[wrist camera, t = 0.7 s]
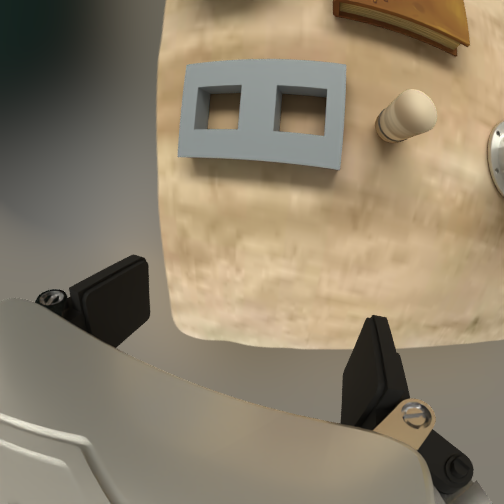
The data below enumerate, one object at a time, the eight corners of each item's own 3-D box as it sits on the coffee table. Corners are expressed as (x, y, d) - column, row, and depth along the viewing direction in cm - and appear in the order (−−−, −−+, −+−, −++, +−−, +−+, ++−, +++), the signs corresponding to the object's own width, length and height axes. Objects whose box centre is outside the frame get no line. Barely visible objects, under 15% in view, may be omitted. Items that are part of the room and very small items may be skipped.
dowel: (394, 109, 27) (424, 83, 16) (407, 139, 28) (444, 126, 17) (367, 118, 29) (387, 94, 18) (380, 148, 29) (408, 139, 18)
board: (344, 75, 28) (346, 64, 24) (338, 170, 32) (339, 169, 28) (199, 73, 32) (186, 64, 28) (191, 157, 36) (177, 157, 33)
